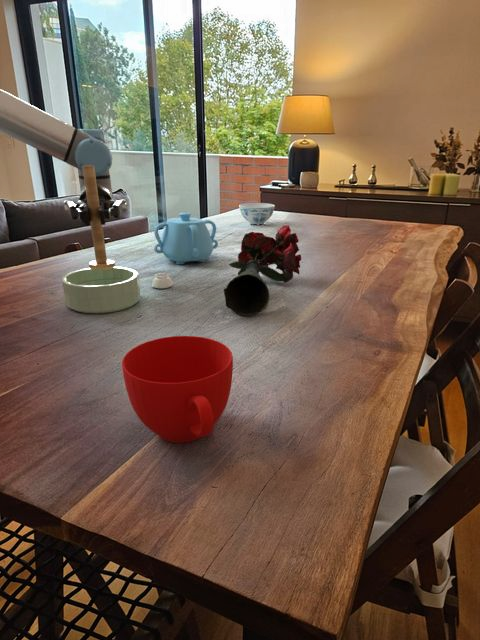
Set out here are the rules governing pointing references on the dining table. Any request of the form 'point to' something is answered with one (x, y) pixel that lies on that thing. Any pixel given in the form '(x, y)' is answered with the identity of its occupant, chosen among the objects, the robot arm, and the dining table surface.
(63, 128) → the robot arm
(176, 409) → the ceramic cup
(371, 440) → the dining table surface
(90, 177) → the stirrer
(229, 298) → the red rose bouquet
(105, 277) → the bowl
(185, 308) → the dining table surface
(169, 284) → the white jar
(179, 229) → the decorative pot
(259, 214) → the chinaware
